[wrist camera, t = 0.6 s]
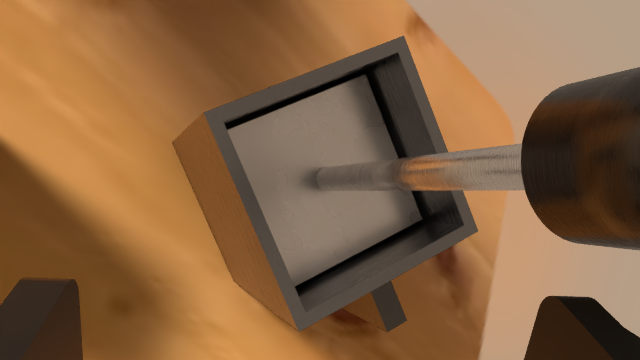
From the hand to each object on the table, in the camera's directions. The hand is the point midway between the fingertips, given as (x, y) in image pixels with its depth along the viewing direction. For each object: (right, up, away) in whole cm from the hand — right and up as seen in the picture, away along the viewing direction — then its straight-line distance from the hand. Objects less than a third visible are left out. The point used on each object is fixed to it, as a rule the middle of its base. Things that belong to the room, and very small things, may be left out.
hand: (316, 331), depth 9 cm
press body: (-3, +1, +28) cm, 28 cm away
